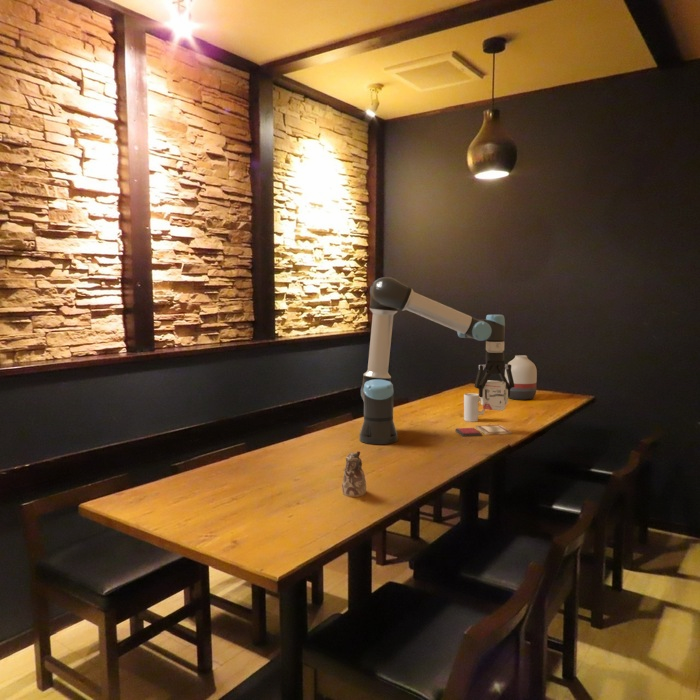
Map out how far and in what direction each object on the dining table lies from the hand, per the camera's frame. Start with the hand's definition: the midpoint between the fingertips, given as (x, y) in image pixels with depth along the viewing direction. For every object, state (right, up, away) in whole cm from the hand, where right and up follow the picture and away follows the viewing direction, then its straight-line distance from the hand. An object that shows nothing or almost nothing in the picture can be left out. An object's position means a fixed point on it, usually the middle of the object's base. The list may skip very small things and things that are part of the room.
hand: (494, 404), depth 252 cm
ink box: (0, -2, 0) cm, 2 cm away
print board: (0, -11, +1) cm, 11 cm away
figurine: (-60, -19, -77) cm, 99 cm away
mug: (-4, -10, +22) cm, 24 cm away
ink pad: (-12, -12, -3) cm, 17 cm away
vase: (+33, -4, +79) cm, 85 cm away
